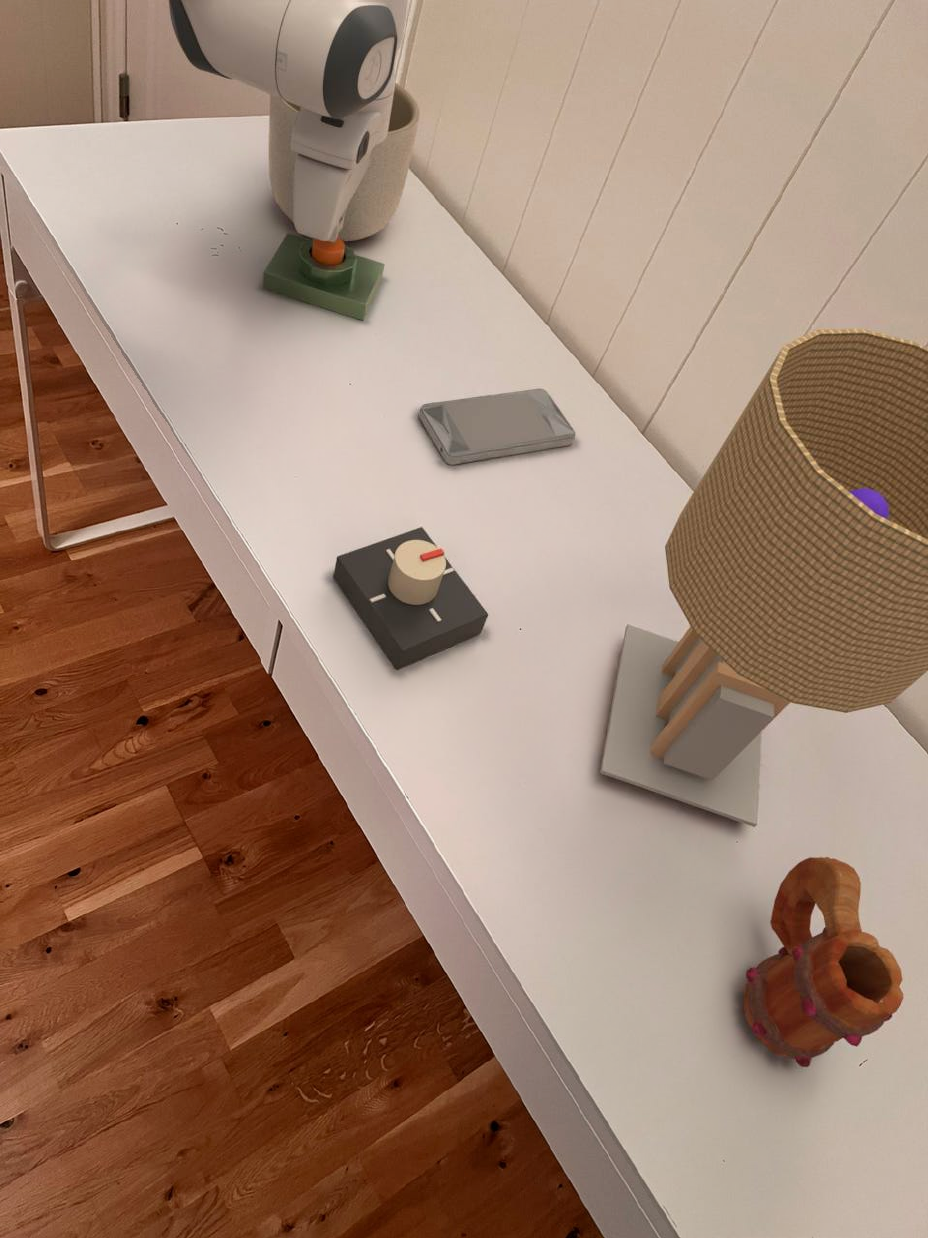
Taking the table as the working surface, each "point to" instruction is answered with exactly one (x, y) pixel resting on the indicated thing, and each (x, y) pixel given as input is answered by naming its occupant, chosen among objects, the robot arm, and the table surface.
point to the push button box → (323, 278)
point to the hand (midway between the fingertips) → (331, 234)
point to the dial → (416, 572)
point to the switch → (328, 251)
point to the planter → (380, 181)
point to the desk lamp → (787, 573)
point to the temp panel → (400, 624)
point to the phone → (495, 426)
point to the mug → (820, 968)
